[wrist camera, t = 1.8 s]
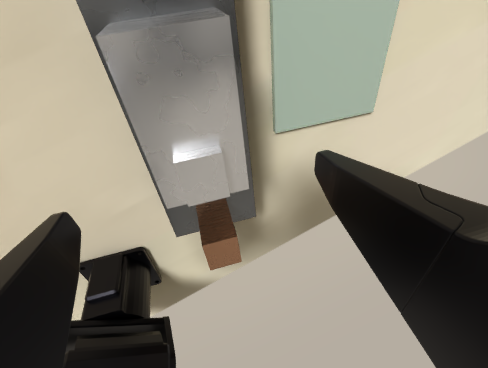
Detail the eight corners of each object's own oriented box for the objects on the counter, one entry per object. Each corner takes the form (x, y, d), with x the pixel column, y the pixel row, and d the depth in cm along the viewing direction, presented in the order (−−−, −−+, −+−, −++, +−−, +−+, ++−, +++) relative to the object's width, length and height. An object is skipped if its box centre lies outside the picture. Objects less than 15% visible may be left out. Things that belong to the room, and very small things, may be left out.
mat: (369, 109, 23) (372, 111, 23) (273, 130, 22) (275, 133, 22) (402, -38, 17) (408, -38, 16) (269, -19, 16) (271, -19, 15)
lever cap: (236, 158, 18) (252, 197, 15) (166, 174, 18) (167, 218, 15) (214, 7, 13) (233, 18, 9) (109, 22, 12) (91, 40, 9)
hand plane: (246, 191, 25) (270, 253, 20) (174, 209, 25) (179, 279, 19) (198, -184, 11) (238, -343, 6) (26, -174, 10) (-134, -351, 5)
